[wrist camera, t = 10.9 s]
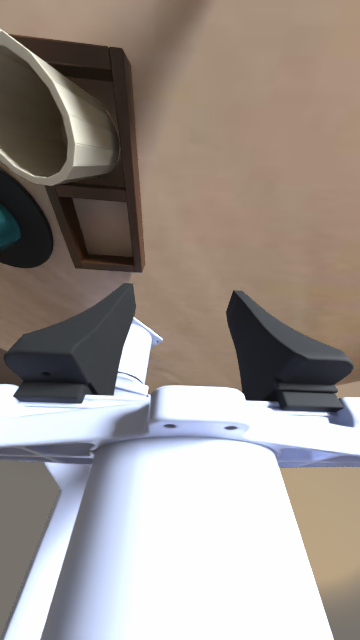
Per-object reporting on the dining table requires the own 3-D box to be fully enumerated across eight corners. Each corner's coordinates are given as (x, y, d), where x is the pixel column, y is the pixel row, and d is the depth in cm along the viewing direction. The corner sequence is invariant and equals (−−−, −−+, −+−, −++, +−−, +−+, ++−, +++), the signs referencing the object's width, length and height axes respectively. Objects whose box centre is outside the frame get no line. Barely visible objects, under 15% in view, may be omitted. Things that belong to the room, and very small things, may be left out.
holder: (83, 259, 20) (75, 268, 19) (15, 49, 11) (-14, 30, 9) (145, 264, 21) (142, 273, 19) (131, 64, 11) (122, 47, 10)
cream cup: (99, 189, 16) (49, 205, 10) (48, 132, 13) (-57, 109, 7) (131, 145, 14) (93, 132, 8) (78, 69, 11) (-32, -30, 5)
